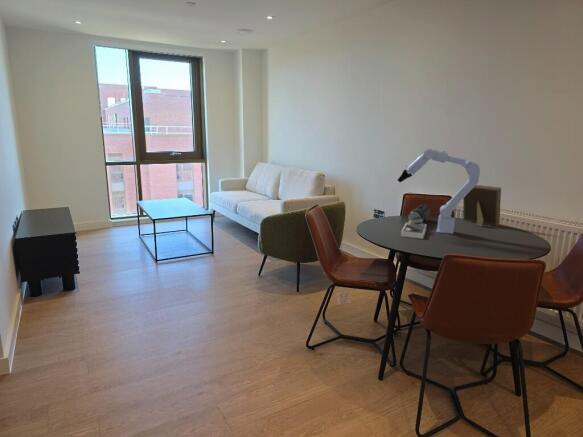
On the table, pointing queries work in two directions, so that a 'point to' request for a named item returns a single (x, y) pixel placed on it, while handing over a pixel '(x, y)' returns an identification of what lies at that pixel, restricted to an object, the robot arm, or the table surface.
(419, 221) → the far rocker
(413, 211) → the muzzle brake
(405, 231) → the switch panel
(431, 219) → the table surface
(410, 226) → the near rocker
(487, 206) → the photo frame
